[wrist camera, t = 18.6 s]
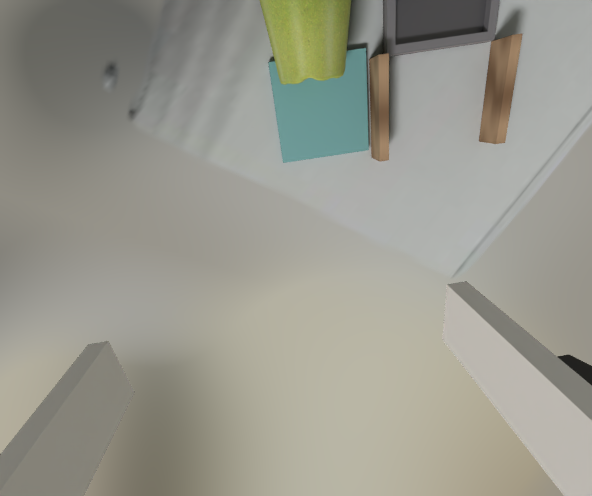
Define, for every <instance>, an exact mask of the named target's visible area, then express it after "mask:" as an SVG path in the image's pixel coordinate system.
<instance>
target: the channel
mask: <svg viewBox="0 0 592 496" xmlns="http://www.w3.org/2000/svg"><path fill="white" fill-rule="evenodd" d="M521 40H522V34H516V35H511V36H508V37H504V38H501V39H498V40H495V41H492V42H491V49H490V57H489V65H488V73H487V81H486V89H485V97H484V105H483V113H482V121H481V129H480V137H479V141H480V142H486V143H493V144H499V143H505V139H506V133H507V127H508V121H509V114H510V108H511V102H512V96H513V90H514V83H515V77H516V71H517V65H518V59H519V52H520V46H521ZM369 68H370V111H371V154H372V158H374V159H376V160H378V161H386V160H389V53H387V54H380V55H377V56H375V57H373V58H371V59H369Z"/></svg>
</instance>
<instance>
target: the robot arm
mask: <svg viewBox="0 0 592 496" xmlns="http://www.w3.org/2000/svg"><path fill="white" fill-rule="evenodd" d="M444 316H445V317H444V328H443V341H444V342H445V344H446V345H447V346H448V347H449V349H450V350H451V351H452V353H453V354H454V355H455V356H456V358H457V359H458V360H459V361H460V363H461V364H462V365H463V367H464V368H465V369H466V370H467V372H468V373H469V374H470V376H471V377H472V378H473V379H474V381H475V382H476V383H477V384H478V386H479V387H480V389H481V390H482V391H483V392H484V394H485V395H486V396H487V397H488V399H489V400H490V401H491V402H492V404H493V405H494V406H495V408H496V409H497V410H498V412H499V413H500V414H501V415H502V417H503V418H504V419H505V421H506V422H507V423H508V424H509V426H510V427H511V428H512V430H513V431H514V432H515V433H516V435H517V436H518V437H519V439H520V440H521V441H522V442H523V444H524V445H525V446H526V448H527V449H528V450H529V451H530V453H531V454H532V455H533V457H534V458H535V459H536V460H537V462H538V463H539V464H540V466H541V467H542V468H543V469H544V470H545V472H546V473H547V475H548V476H549V477H550V478H551V480H552V481H553V482H554V483H555V485H556V486H557V487H558V489H559V490H560V491H561V492H562V494H563V495H564V496H592V366H591V365H589V364H587V363H585V362H583V361H581V360H579V359H576V358H575V357H573V356H571V355H564V356H558V357H557V356H556V355H554V354H553V353H552V352H551V351H549V350H548V349H547V348H546V347H545V346H543V345H542V344H541V343H540V342H539V341H538V340H536V339H535V338H534V337H533V336H531V335H530V334H529V333H528V332H527V331H525V330H524V329H523V328H522V327H521V326H519V325H518V324H517V323H516V322H514V321H513V320H512V319H511V318H509V316H507V315H506V314H505V313H504V312H503V311H501V310H500V309H499V308H498V307H496V306H495V305H494V304H493V303H492V302H491V301H489V300H488V299H487V298H486V297H485V296H483V295H482V294H481V293H480V292H479V291H477V290H476V289H475V288H474V287H473V286H471V285H470V284H469V283H468V282H467V281H465V282H459V283H453V284H447V291H446V303H445V315H444ZM134 393H135V392H134V390H133V388H132V386H131V384H130V382H129V380H128V378H127V376H126V374H125V372H124V370H123V368H122V366H121V364H120V363H119V361H118V359H117V357H116V355H115V353H114V351H113V349H112V347H111V345H110V343H109V342H108V341H106V342H100V343H94V344H89V345H87V347H86V348H85V349H84V350H83V352H82V353H81V354H80V355H79V357H78V358H77V359H76V360H75V362H74V363H73V364H72V365H71V367H70V368H69V369H68V371H67V372H66V373H65V374H64V375H63V377H62V378H61V379H60V380H59V382H58V383H57V384H56V386H55V387H54V388H53V389H52V390H51V392H50V393H49V394H48V395H47V397H46V398H45V399H44V400H43V402H42V403H41V404H40V405H39V407H38V408H37V409H36V411H35V412H34V413H33V414H32V415H31V417H30V418H29V419H28V420H27V422H26V423H25V424H24V425H23V427H22V428H21V429H20V430H19V432H18V433H17V434H16V435H15V437H14V438H13V439H12V441H11V442H10V443H9V444H8V445H7V447H6V448H5V449H4V451H3V452H2V453H1V454H0V496H84V495H85V492H86V490H87V488H88V486H89V484H90V482H91V480H92V478H93V476H94V474H95V472H96V470H97V468H98V466H99V464H100V462H101V460H102V458H103V456H104V454H105V452H106V450H107V448H108V446H109V444H110V442H111V440H112V438H113V436H114V433H115V431H116V429H117V427H118V425H119V423H120V421H121V419H122V417H123V415H124V413H125V411H126V409H127V407H128V405H129V403H130V401H131V399H132V397H133V395H134Z"/></svg>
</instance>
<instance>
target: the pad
mask: <svg viewBox="0 0 592 496" xmlns="http://www.w3.org/2000/svg"><path fill="white" fill-rule="evenodd" d="M268 63H269V70H270V77H271V84H272V90H273V97H274V104H275V111H276V117H277V124H278V131H279V137H280V144H281V151H282V158H283V163H285V162H292V161H299V160H305V159H312V158H319V157H325V156H332V155H339V154H345V153H352V152H359V151H365V150H369V144H368V106H367V69H366V48H362V49H355V50H348V51H347V53H346V65H345V71H344V74H343V76H341V77H340V78H330V79H328V80H324V81H319V80H315V79H313V78H308V79H306V80H304V81H303V82H301V83H299V84H286V85H284V84H281V83H280V80H279V76H278V72H277V68H276V63H275V61H273V62H268Z"/></svg>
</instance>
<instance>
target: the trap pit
mask: <svg viewBox="0 0 592 496" xmlns="http://www.w3.org/2000/svg"><path fill="white" fill-rule="evenodd" d="M499 1H500V0H383V54H387V53H389V57H390V56H397V55H404V54H410V53H417V52H424V51H431V50H438V49H444V48H451V47H458V46H465V45H472V44H478V43H485V42H489V41H492V40H495V32H496V24H497V16H498V8H499Z"/></svg>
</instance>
